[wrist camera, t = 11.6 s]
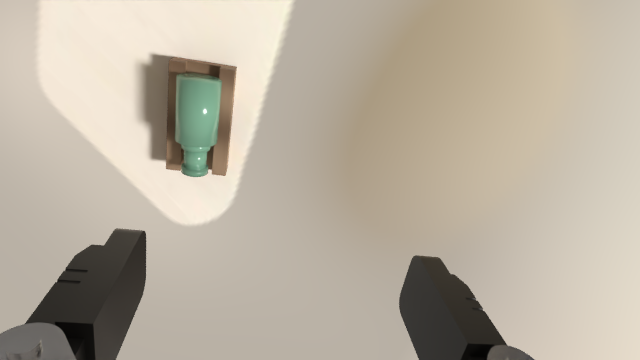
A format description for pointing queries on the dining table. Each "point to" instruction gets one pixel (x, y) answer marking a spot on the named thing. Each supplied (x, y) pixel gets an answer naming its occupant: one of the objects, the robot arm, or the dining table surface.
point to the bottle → (197, 119)
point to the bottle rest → (219, 151)
